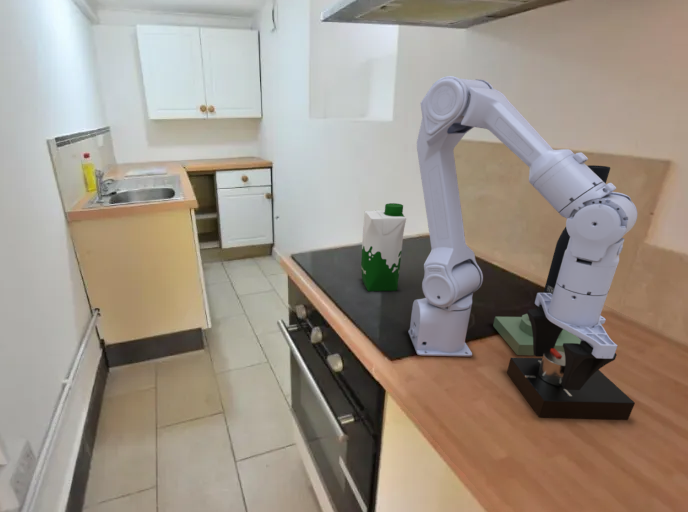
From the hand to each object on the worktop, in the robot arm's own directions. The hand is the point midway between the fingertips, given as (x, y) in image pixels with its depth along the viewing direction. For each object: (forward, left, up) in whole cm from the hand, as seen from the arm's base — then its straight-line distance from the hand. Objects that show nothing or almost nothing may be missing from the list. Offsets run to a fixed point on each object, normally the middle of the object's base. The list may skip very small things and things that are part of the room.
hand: (555, 370), depth 56 cm
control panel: (+2, 0, -4) cm, 5 cm away
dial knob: (0, 0, -1) cm, 1 cm away
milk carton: (-20, +39, -4) cm, 44 cm away
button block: (+6, +15, -4) cm, 17 cm away
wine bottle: (+17, +28, -4) cm, 33 cm away
